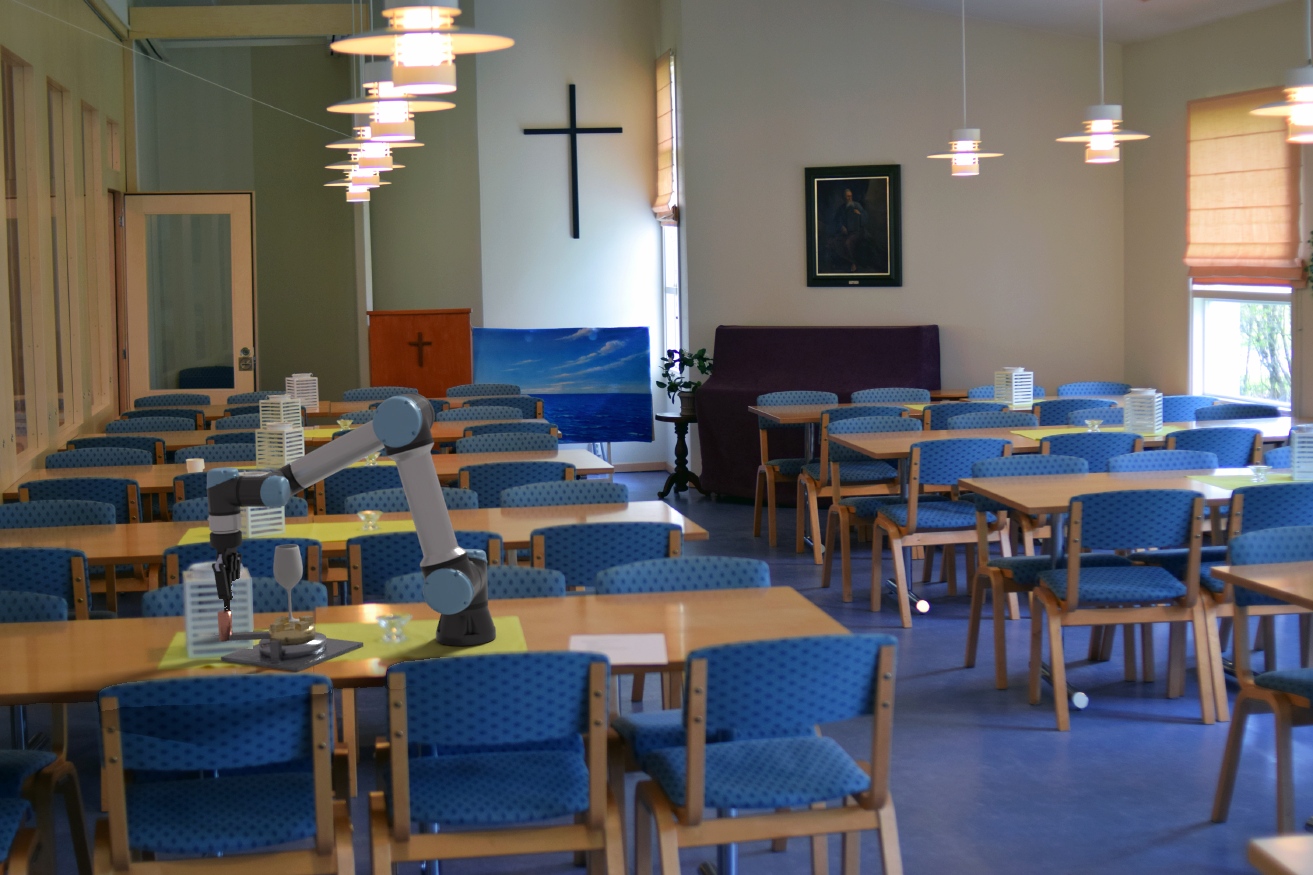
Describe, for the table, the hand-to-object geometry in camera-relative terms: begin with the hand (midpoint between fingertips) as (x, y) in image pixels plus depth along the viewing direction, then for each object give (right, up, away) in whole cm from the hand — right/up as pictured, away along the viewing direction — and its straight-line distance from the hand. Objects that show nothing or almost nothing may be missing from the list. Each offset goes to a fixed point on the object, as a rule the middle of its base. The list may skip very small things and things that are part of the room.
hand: (230, 624), depth 324 cm
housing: (+16, -7, -1) cm, 17 cm away
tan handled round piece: (+10, -3, -2) cm, 11 cm away
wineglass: (+7, -4, +30) cm, 31 cm away
